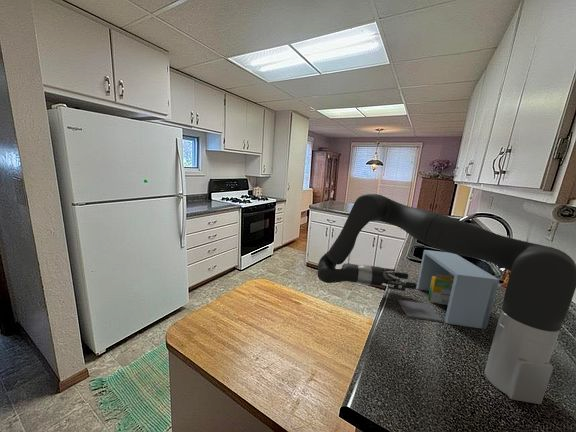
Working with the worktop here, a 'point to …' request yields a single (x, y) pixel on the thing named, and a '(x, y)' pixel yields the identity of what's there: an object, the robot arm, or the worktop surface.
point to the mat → (419, 310)
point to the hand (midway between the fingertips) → (411, 281)
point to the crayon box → (440, 289)
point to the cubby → (461, 288)
